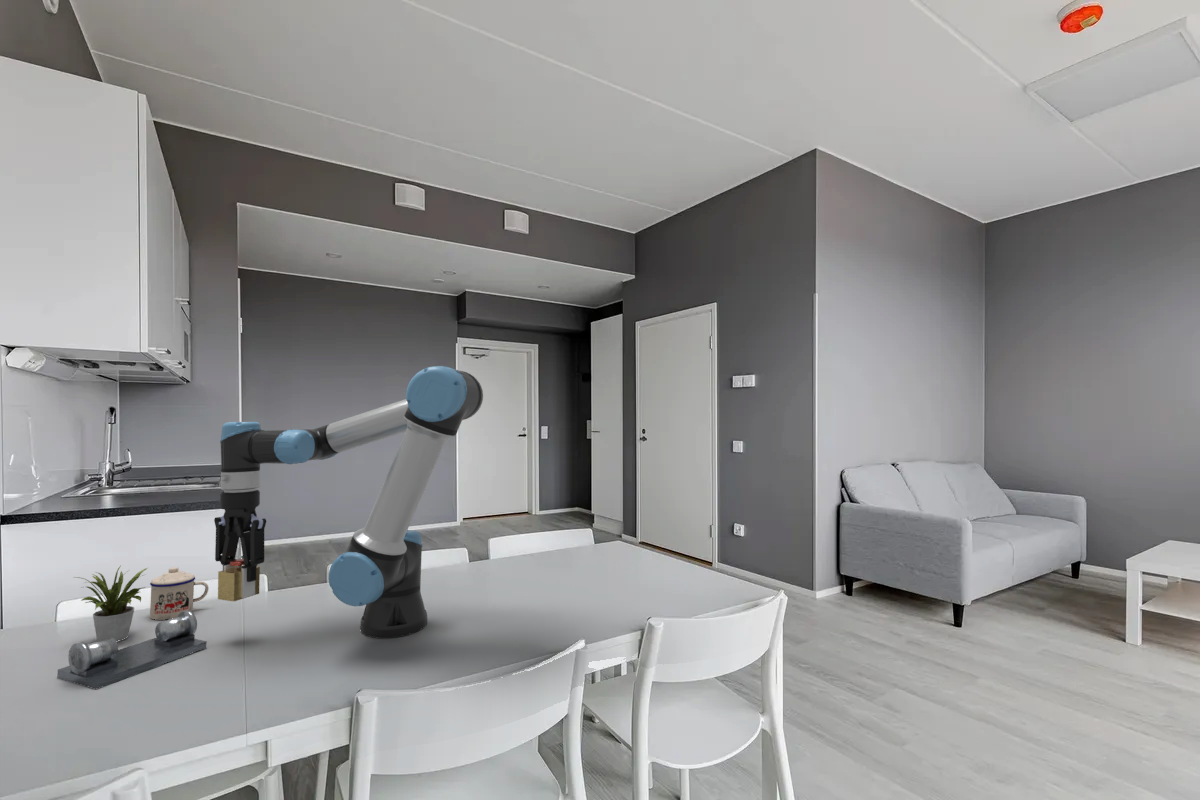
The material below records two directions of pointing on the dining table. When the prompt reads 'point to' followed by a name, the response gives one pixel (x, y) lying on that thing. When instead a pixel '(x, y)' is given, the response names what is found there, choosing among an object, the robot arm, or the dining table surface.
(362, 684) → the dining table surface
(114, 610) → the house plant
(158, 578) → the teacup with lid
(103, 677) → the pipe run
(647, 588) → the dining table surface
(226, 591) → the brass valve
